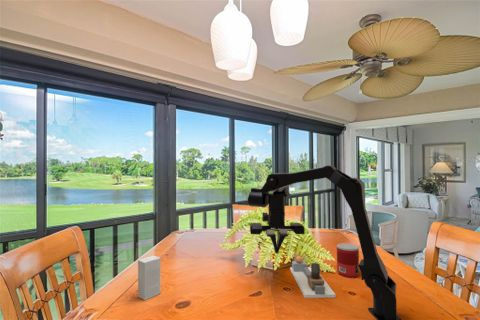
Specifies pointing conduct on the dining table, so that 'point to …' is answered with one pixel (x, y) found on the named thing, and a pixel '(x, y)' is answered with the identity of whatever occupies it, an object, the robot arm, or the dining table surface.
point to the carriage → (315, 276)
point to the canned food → (348, 260)
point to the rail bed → (301, 278)
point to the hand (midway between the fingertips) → (276, 252)
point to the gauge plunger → (298, 259)
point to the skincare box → (149, 277)
